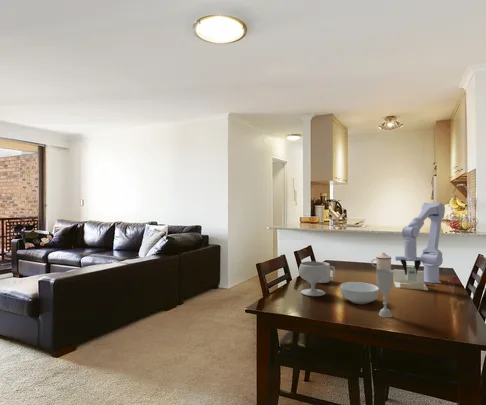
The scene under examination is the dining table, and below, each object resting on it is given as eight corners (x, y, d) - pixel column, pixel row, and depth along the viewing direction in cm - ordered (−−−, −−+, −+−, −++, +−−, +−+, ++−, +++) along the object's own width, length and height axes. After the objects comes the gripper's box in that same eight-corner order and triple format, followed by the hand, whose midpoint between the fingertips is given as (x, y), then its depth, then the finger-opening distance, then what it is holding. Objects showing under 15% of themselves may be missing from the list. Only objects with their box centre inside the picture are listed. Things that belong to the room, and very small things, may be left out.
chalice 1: (315, 288, 179) (315, 260, 179) (333, 295, 166) (333, 264, 166) (293, 291, 173) (293, 262, 173) (310, 299, 160) (309, 267, 160)
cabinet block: (405, 276, 184) (405, 265, 184) (413, 277, 183) (413, 266, 183) (407, 281, 175) (407, 269, 175) (416, 281, 174) (416, 269, 173)
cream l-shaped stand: (393, 281, 190) (393, 269, 190) (423, 283, 185) (423, 271, 185) (396, 287, 178) (395, 274, 177) (428, 290, 173) (428, 276, 172)
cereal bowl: (353, 309, 145) (353, 292, 145) (333, 298, 161) (333, 283, 161) (387, 305, 150) (387, 289, 150) (364, 294, 166) (364, 280, 166)
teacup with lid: (391, 269, 221) (391, 252, 221) (391, 272, 213) (391, 254, 213) (371, 268, 226) (371, 251, 226) (371, 271, 217) (371, 253, 217)
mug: (310, 282, 191) (310, 265, 191) (311, 278, 201) (311, 261, 201) (335, 283, 188) (335, 265, 187) (334, 279, 198) (334, 262, 198)
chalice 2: (390, 312, 141) (389, 268, 140) (398, 317, 134) (397, 272, 134) (372, 312, 140) (372, 269, 140) (379, 318, 134) (379, 272, 133)
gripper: (396, 249, 178) (396, 275, 178) (427, 250, 173) (427, 277, 173) (394, 247, 185) (395, 272, 185) (424, 248, 180) (424, 274, 180)
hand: (410, 274), depth 179 cm, fingers closed on cabinet block, 4 cm apart
